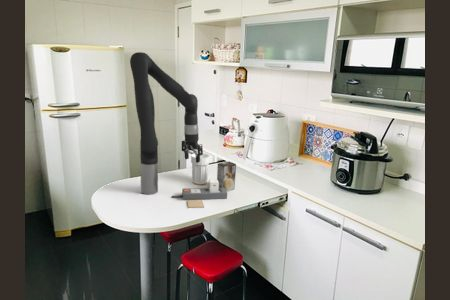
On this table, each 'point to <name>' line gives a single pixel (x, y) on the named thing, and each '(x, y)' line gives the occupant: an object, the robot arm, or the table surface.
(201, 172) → the cup
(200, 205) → the cork mat
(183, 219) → the table surface
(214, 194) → the power strip
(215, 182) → the charger
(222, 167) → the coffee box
